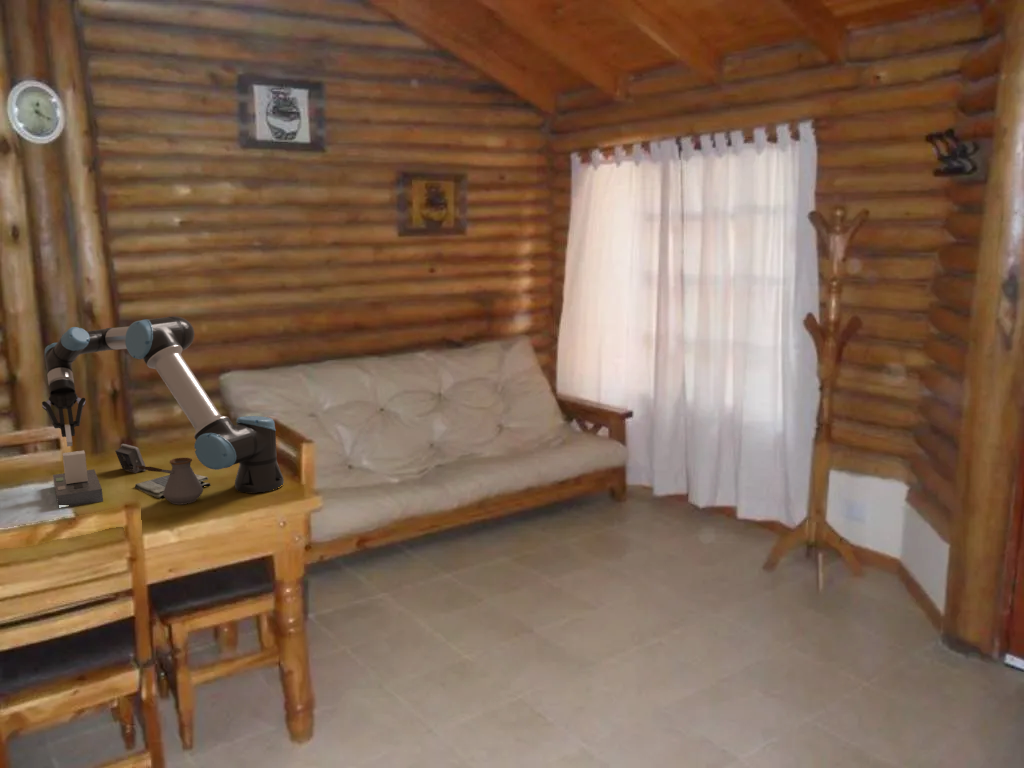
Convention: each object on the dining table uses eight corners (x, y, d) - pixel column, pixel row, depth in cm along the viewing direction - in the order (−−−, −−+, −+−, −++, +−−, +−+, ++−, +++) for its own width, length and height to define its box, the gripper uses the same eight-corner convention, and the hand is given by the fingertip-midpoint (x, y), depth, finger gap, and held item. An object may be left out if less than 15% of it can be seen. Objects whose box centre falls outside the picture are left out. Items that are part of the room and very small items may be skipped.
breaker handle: (87, 481, 256) (85, 453, 254) (66, 484, 253) (63, 456, 251) (86, 477, 259) (84, 450, 258) (65, 480, 256) (62, 453, 255)
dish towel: (133, 489, 264) (132, 479, 263) (185, 476, 277) (184, 467, 276) (160, 501, 252) (159, 491, 251) (214, 487, 265) (213, 478, 265)
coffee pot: (187, 492, 259) (183, 446, 256) (211, 498, 253) (208, 451, 250) (126, 512, 241) (121, 463, 238) (151, 519, 235) (146, 469, 232)
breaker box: (103, 501, 250) (101, 488, 249) (58, 508, 244) (57, 494, 243) (95, 480, 270) (94, 468, 269) (54, 486, 264) (52, 474, 263)
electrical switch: (147, 471, 281) (142, 445, 279) (133, 476, 277) (128, 450, 275) (131, 466, 286) (126, 442, 284) (117, 471, 282) (112, 446, 280)
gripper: (83, 389, 279) (92, 447, 268) (39, 392, 272) (47, 452, 262) (83, 376, 274) (92, 435, 263) (38, 379, 267) (46, 440, 256)
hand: (69, 444), depth 262 cm, fingers closed
